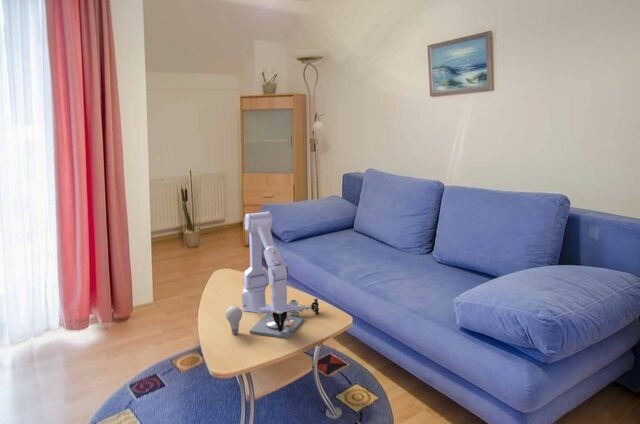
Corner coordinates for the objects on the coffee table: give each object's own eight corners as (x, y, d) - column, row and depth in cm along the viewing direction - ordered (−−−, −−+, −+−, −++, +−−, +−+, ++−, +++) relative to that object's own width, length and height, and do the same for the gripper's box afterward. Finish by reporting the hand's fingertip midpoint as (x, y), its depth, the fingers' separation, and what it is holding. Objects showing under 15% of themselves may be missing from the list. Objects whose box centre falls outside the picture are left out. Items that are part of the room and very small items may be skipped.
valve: (289, 320, 182) (319, 317, 184) (289, 304, 181) (318, 302, 183) (287, 313, 189) (316, 310, 191) (287, 298, 187) (315, 295, 189)
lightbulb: (235, 339, 167) (234, 311, 165) (223, 335, 171) (221, 308, 168) (246, 332, 172) (245, 305, 170) (234, 328, 176) (233, 302, 173)
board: (249, 333, 172) (249, 323, 171) (267, 315, 187) (267, 306, 186) (288, 339, 167) (288, 328, 166) (303, 320, 182) (303, 311, 181)
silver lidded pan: (261, 323, 177) (260, 314, 176) (279, 316, 183) (279, 307, 182) (282, 335, 167) (282, 325, 166) (301, 327, 173) (300, 318, 172)
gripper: (259, 301, 162) (260, 336, 165) (299, 299, 163) (300, 334, 166) (259, 294, 169) (261, 327, 171) (298, 291, 170) (299, 325, 173)
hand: (280, 330), depth 169 cm, fingers closed
